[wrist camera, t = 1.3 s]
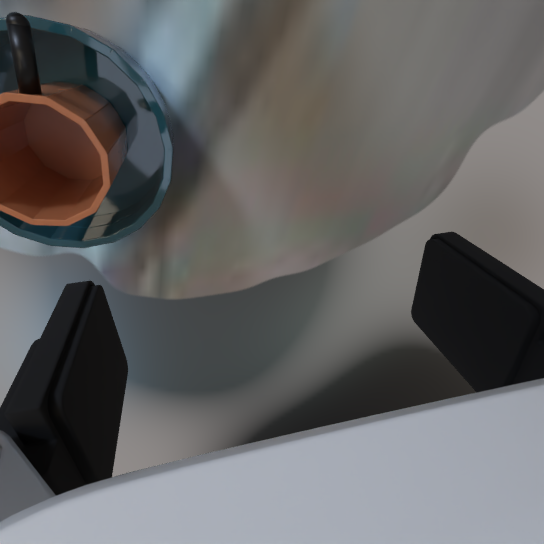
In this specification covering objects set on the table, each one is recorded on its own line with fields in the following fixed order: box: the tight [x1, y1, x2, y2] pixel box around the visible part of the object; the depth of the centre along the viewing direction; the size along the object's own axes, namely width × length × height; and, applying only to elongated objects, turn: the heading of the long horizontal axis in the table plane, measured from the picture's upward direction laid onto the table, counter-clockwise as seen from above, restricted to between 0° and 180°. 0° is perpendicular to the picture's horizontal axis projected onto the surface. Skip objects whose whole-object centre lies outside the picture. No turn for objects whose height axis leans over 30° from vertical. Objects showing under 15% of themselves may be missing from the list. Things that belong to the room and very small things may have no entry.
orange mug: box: [0, 12, 127, 226], centre depth 23 cm, size 11×7×9 cm
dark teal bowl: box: [0, 15, 174, 248], centre depth 26 cm, size 14×14×6 cm
